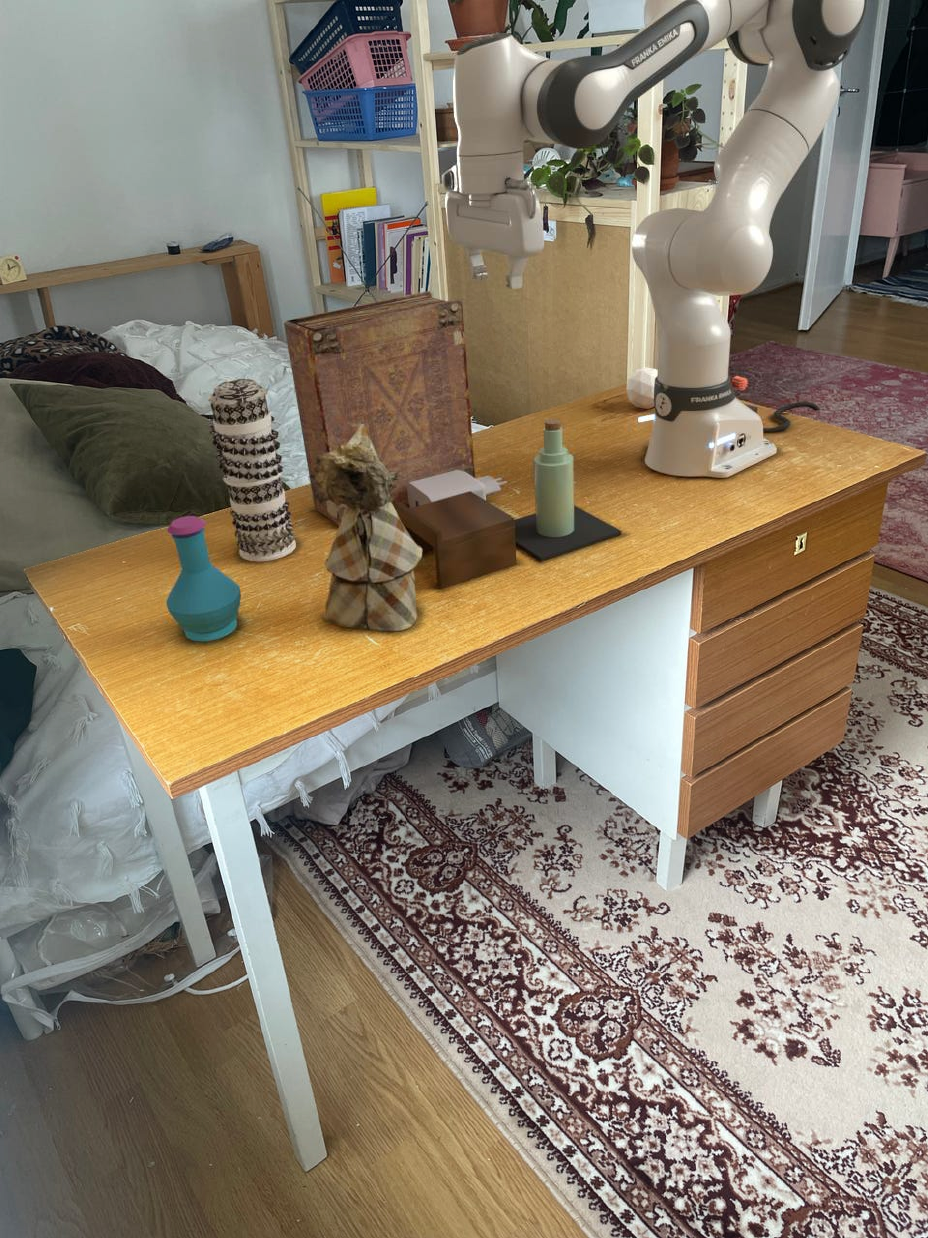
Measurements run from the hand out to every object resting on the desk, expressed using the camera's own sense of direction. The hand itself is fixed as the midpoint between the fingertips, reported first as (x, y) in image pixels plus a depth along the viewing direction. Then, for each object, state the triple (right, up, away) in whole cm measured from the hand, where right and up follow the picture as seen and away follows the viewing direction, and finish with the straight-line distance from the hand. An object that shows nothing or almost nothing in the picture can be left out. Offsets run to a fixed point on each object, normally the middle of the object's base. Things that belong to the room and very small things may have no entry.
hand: (496, 283), depth 134 cm
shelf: (-5, -39, -1) cm, 40 cm away
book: (-16, -28, +21) cm, 38 cm away
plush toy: (-15, -47, -12) cm, 51 cm away
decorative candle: (-34, -37, +7) cm, 51 cm away
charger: (-5, -30, +16) cm, 34 cm away
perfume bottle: (-37, -49, -12) cm, 63 cm away
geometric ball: (+31, -6, +51) cm, 60 cm away
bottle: (+9, -34, +4) cm, 36 cm away
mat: (+9, -35, +5) cm, 36 cm away
